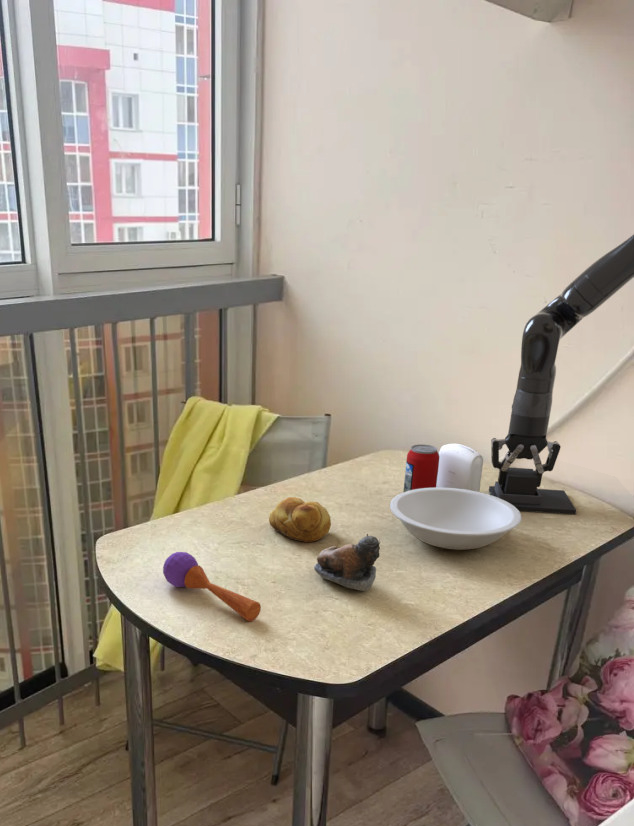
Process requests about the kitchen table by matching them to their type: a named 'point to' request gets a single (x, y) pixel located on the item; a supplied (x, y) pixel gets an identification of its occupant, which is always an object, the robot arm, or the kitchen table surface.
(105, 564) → the kitchen table surface
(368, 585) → the bison figurine
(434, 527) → the soup bowl
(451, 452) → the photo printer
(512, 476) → the black block
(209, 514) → the kitchen table surface
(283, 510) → the bread roll
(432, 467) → the beverage can
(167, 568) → the purple toy maraca
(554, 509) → the base pad
